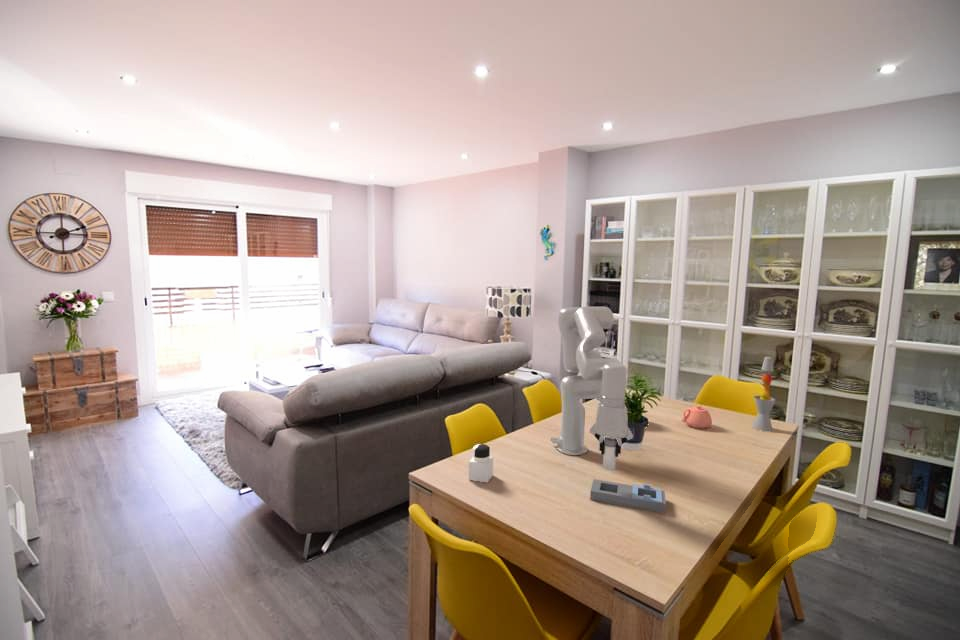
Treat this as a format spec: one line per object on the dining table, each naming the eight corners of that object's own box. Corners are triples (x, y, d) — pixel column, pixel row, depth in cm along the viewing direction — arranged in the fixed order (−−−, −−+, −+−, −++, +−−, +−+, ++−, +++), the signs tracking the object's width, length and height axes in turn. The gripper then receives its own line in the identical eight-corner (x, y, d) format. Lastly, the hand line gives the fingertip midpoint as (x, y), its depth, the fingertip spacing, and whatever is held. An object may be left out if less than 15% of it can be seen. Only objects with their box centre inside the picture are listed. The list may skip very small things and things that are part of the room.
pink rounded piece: (716, 430, 216) (717, 409, 214) (686, 430, 216) (688, 409, 215) (704, 421, 228) (705, 402, 227) (676, 421, 228) (677, 401, 227)
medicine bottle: (493, 475, 167) (493, 443, 165) (487, 483, 160) (487, 451, 159) (475, 472, 169) (475, 441, 168) (468, 480, 162) (468, 448, 161)
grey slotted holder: (590, 499, 150) (590, 486, 149) (593, 487, 158) (593, 475, 158) (665, 513, 142) (665, 499, 142) (664, 499, 151) (664, 486, 150)
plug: (602, 469, 150) (603, 440, 149) (603, 463, 154) (604, 435, 153) (615, 471, 149) (616, 442, 148) (615, 465, 153) (617, 437, 152)
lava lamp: (752, 423, 225) (758, 354, 221) (773, 427, 220) (780, 356, 216) (750, 429, 218) (756, 357, 214) (772, 433, 213) (779, 360, 209)
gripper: (585, 401, 148) (582, 454, 150) (639, 407, 142) (636, 463, 145) (588, 395, 155) (585, 446, 157) (640, 400, 149) (636, 453, 152)
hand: (609, 453), depth 151 cm, fingers closed on plug, 4 cm apart
